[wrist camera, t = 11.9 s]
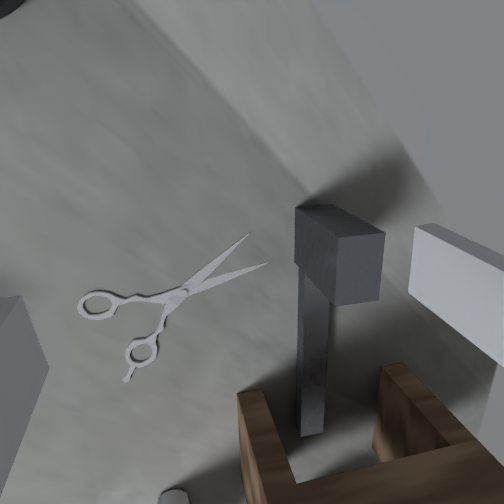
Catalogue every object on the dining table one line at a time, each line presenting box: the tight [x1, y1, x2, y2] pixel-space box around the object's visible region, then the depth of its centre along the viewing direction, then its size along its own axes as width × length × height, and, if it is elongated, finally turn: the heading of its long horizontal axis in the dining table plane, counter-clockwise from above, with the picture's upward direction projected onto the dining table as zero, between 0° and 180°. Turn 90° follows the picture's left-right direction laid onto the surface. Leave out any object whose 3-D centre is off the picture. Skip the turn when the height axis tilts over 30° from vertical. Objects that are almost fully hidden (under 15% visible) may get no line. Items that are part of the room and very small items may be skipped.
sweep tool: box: [294, 204, 385, 437], centre depth 39 cm, size 29×4×10 cm, turn 1°
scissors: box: [78, 233, 268, 382], centre depth 38 cm, size 11×1×20 cm
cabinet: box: [237, 363, 504, 504], centre depth 39 cm, size 16×23×22 cm
